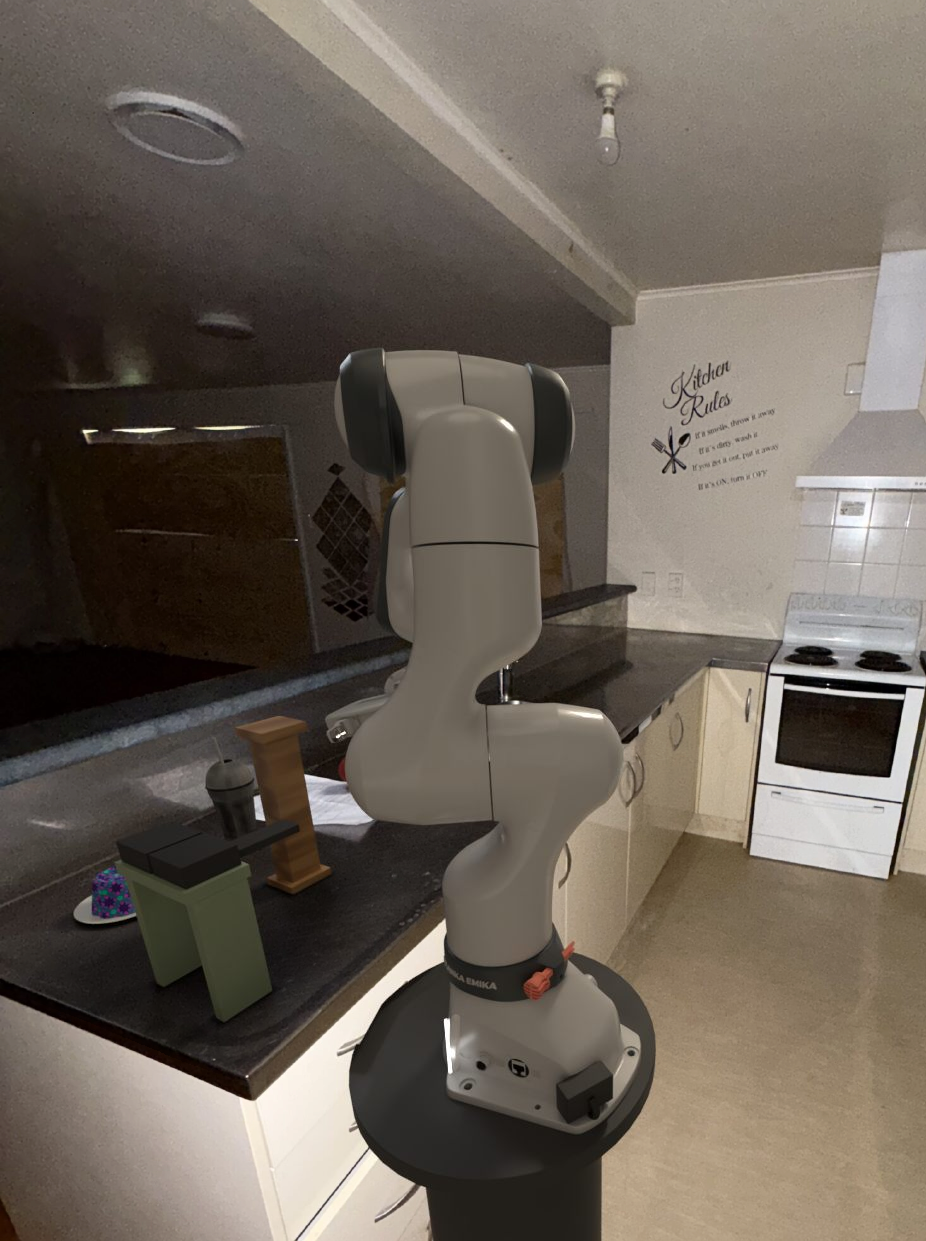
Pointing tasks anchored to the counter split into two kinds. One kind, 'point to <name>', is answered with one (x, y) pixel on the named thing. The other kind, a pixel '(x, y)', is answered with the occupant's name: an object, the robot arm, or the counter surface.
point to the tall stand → (285, 799)
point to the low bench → (203, 934)
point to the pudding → (106, 900)
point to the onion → (342, 770)
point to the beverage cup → (232, 796)
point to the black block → (152, 843)
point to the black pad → (213, 854)
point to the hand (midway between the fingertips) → (359, 731)
